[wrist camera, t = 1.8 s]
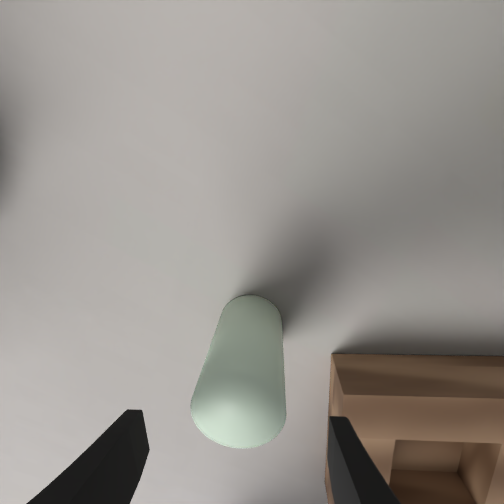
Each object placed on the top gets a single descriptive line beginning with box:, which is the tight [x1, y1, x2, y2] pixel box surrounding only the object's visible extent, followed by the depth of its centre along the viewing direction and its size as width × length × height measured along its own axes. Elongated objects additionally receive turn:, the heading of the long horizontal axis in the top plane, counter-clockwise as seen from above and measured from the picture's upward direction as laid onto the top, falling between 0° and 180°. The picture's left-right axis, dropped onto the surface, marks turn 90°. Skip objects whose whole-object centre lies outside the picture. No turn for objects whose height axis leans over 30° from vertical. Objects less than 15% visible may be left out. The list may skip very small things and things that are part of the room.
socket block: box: [325, 354, 504, 504], centre depth 18 cm, size 12×12×4 cm
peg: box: [191, 295, 286, 448], centre depth 15 cm, size 4×4×7 cm
